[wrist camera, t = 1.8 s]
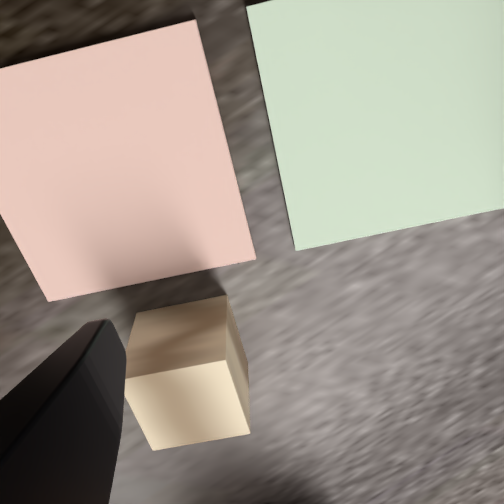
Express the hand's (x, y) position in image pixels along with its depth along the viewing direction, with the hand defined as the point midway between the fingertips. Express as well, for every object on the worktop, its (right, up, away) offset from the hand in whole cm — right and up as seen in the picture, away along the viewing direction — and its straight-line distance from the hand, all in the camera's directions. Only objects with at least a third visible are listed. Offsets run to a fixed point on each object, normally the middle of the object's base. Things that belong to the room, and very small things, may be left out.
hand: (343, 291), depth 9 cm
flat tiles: (-2, +5, +12) cm, 13 cm away
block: (-5, -4, +18) cm, 19 cm away
